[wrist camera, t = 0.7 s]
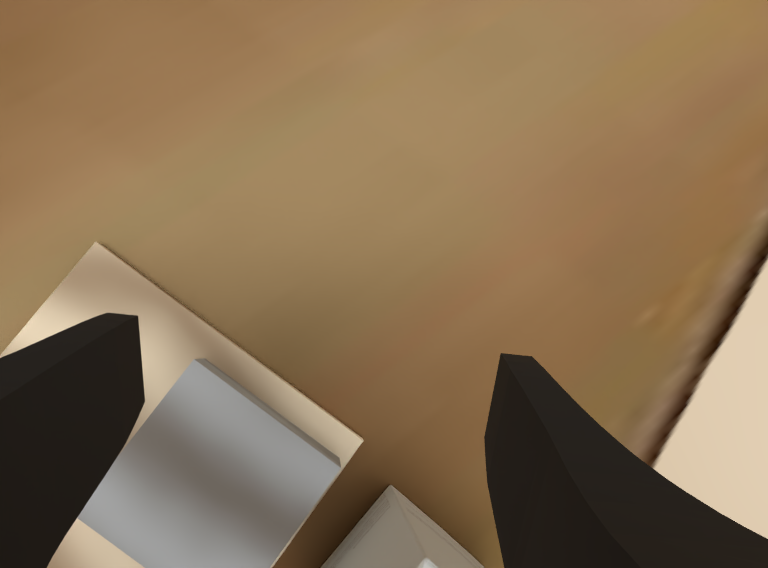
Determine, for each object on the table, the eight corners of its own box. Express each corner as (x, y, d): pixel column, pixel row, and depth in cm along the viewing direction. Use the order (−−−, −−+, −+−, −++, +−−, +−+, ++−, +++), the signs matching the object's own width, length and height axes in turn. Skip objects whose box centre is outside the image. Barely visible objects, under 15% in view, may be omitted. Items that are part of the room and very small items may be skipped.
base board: (155, 726, 33) (132, 778, 29) (-128, 519, 32) (-191, 543, 28) (362, 438, 35) (367, 448, 31) (101, 244, 35) (73, 230, 31)
